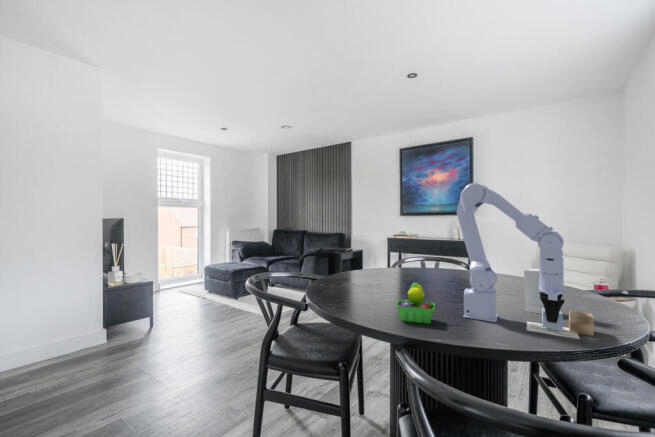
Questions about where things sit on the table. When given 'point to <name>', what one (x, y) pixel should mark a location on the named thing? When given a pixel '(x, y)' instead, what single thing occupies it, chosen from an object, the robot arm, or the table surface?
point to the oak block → (581, 322)
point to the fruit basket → (415, 306)
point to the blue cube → (549, 324)
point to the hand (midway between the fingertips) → (551, 319)
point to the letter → (551, 330)
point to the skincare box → (532, 291)
